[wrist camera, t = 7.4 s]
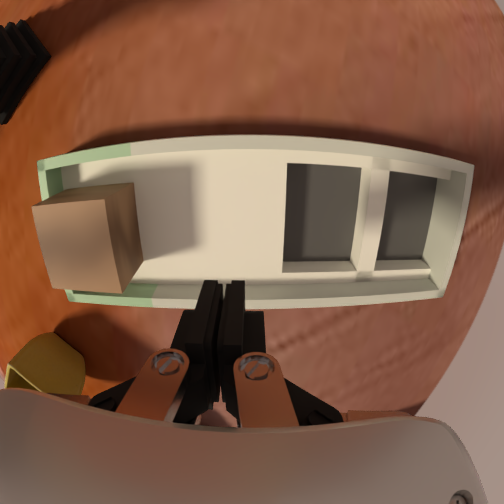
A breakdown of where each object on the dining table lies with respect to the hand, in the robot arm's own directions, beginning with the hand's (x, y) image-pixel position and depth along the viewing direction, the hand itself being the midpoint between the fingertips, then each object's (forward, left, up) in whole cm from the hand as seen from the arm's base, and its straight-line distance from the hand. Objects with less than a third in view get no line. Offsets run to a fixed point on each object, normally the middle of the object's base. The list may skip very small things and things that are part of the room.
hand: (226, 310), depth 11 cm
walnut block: (+1, +10, -9) cm, 13 cm away
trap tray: (+1, -2, -11) cm, 11 cm away
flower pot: (-16, +23, -11) cm, 30 cm away
